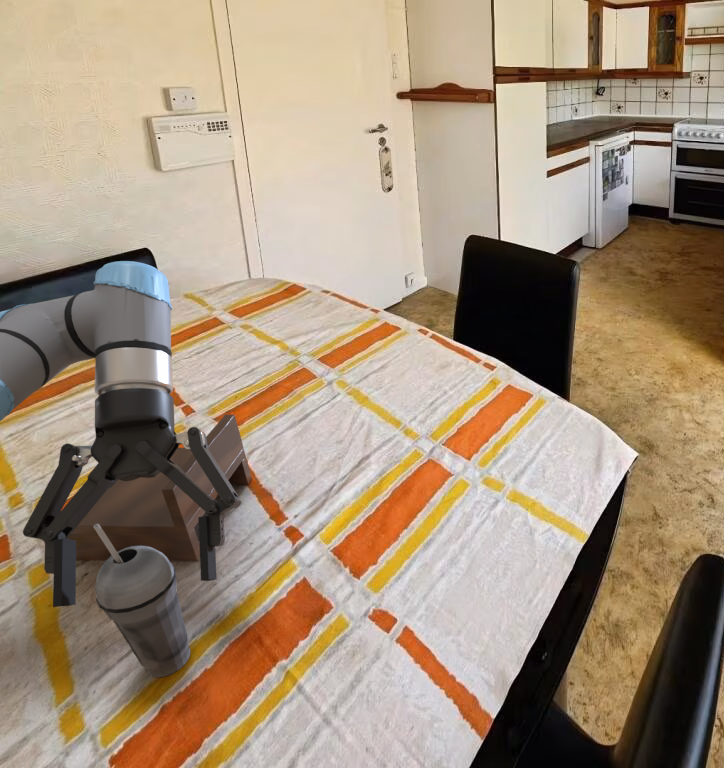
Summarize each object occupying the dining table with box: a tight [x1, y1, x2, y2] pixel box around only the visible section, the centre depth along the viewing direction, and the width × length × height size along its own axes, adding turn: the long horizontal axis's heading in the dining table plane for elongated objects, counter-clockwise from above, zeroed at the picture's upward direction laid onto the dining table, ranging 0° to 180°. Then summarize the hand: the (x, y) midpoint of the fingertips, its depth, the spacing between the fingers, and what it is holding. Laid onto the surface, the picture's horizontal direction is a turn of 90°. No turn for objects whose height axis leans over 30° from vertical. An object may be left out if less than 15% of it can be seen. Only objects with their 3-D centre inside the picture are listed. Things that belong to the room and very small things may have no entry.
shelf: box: [68, 414, 253, 562], centre depth 88 cm, size 18×18×12 cm
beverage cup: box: [94, 524, 191, 678], centre depth 65 cm, size 7×7×20 cm
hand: (138, 593), depth 64 cm, fingers open, 13 cm apart
